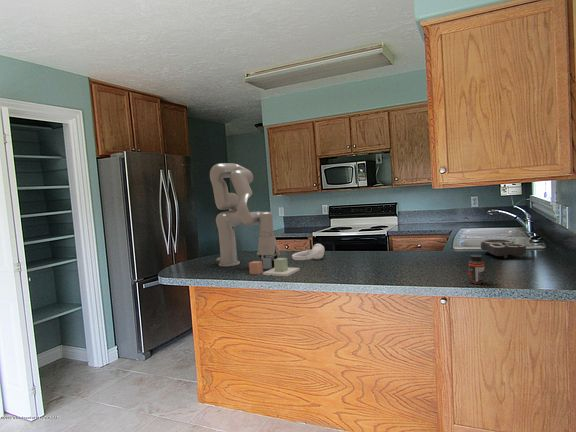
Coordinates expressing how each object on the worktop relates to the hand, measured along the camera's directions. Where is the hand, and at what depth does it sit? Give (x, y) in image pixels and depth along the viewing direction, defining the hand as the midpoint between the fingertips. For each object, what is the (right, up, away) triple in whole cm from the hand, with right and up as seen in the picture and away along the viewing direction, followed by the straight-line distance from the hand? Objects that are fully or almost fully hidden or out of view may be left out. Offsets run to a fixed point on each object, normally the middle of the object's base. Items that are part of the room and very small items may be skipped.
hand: (269, 266), depth 224 cm
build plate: (+7, -1, -14) cm, 16 cm away
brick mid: (0, -1, 0) cm, 1 cm away
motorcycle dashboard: (+123, +7, -10) cm, 124 cm away
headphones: (+23, +2, +22) cm, 31 cm away
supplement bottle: (+88, 0, -59) cm, 105 cm away
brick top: (-6, -2, -11) cm, 13 cm away
